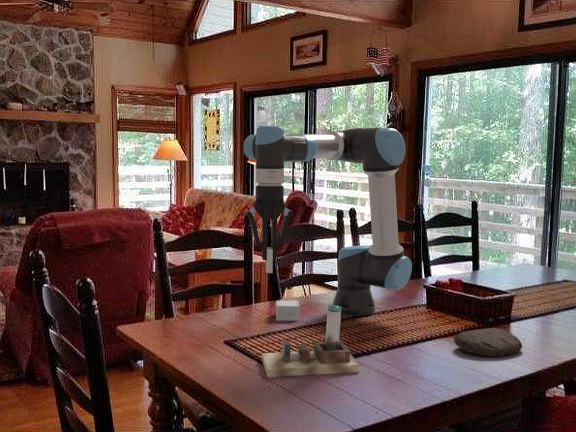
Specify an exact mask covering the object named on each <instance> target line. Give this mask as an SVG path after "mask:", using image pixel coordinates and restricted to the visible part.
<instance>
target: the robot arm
mask: <svg viewBox="0 0 576 432" xmlns="http://www.w3.org/2000/svg"><path fill="white" fill-rule="evenodd" d="M406 152H407V151H406V143H405V140H404V137H403V135H402V134H401V133H400V132H399V131H398V130H397V129H395V128H392V127H384V126H382V127H355V128H348V129H342V130H330V131H328V132H326V133H325V134H323V133H321V134H320V133H319V134H318V133H317V134H315V133H313V134H312V133H311V134H310V133H309V134H308V133H305V134H304V133H302V134H301V133H299V134H297V133H296V134H293V133H290V134H289V133H287V134H286V133H285V127H283V126H281V125H280V126H279V125H278V126H277V125H261V126H258V127H257V128H256V133H255V134H250V135H248V136H247V137H246V138H245V139H244V142H243V153H244V155H245V157H246V158H248V159H249V160H251V161H255V183H256V184H257V185H256V186H255V202H254V204H253V207H252V208H250V209H249V210H246V211H245V215H246V216H247V218H248V219H249V223H250V228H251V232H252V236H253V240H254V245H256V246H257V247H259V248H261V259H262V260H263V261H265V273H267V274H273V271H274V270H273V266H274V265H273V263H274V261H276V260H277V250H278V248H279V247H283V246H284V243H285V240H286V236H287V231H288V229H289V228H288V227H289V223H290V220H291V218H292V217H293V216H294V211H293V210H291V209H289V208H287V207H286V203H285V201H284V199H285V192H284V191H285V186H284V185H283V184H284V182H285V163H288V162H290V163H297V162H300V163H304V162H310V161H311V160H313V159H326V160H328V161H332V162H333V161H339V162H346V163H352V164H360V165H361V164H362V171H363V172H364V174H365V175H367V179H368V193H369V194H368V196H369V208H370V224H371V238H372V239H371V240H372V241H371V242H372V245H351V246H345V247H342V248H339V250H338V258H337V289H336V292H335V294H334V295H335V296H334V298H333V301H332V304H331V305H339V306H341V316H342V315H343V316H350V317H362V316H368V315H369V316H370V315H372V314H375V312H376V305H375V299H374V297H373V294H372V290H371V287H376V288H381V289H385V290H388V291H389V290H393V291H398V290H399V291H400V290H402V289H403V288H404V287H405V286H406V285H407V284H408V282H409V281H410V278H411V275H412V270H413V268H412V267H413V264H412V263H413V262H412V260H411V258H409V257H408V256H406V255H405V251H404V250H405V249H404V247H403V246H402V245H401V244H400V243H399V229H398V228H399V226H398V210H397V194H396V193H397V192H396V191H397V189H396V177H395V176H396V175H395V174H396V173H397V172H398V171H399V169H400V165H401V164H402V163H403V161H404V160H405V156H406ZM256 213H257V215H258V216H259V217H260V219H261V239H260V236H259V231H258V226H257V223H256V219H255V217H256ZM282 214H283V215H284V216H283V219H282V222H281V223H282V224H281V227H280V232H279V235H278V219H279V218H280V216H281V215H282ZM269 220H270V223H271V224H270V225H271V226H270V228H271V229H270V236H271V238H270V239H271V240H270V241H271V242H270V246H271V247H268V229H269V228H268V226H269ZM278 236H279V237H278Z"/></svg>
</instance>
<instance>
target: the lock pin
mask: <svg viewBox="0 0 576 432" xmlns="http://www.w3.org/2000/svg"><path fill="white" fill-rule="evenodd" d="M291 345H292V344H291V343H290V341H289V340H287V339H286V340H282V341H281V353H282V358H283V360H284V362H290V360H301V353H290V352H291ZM310 359H316V354H315V352H310Z"/></svg>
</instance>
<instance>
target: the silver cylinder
mask: <svg viewBox="0 0 576 432" xmlns="http://www.w3.org/2000/svg"><path fill="white" fill-rule="evenodd" d="M341 316H342V314H341V306H339V305H332V304H329V305H327V313H326V326H325V327H326V330H325V340H324V341H325V351H335V350H338V349H339V342H340V334H341V333H340V331H341V318H342V317H341Z"/></svg>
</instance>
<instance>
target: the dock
mask: <svg viewBox="0 0 576 432" xmlns="http://www.w3.org/2000/svg"><path fill="white" fill-rule="evenodd" d="M297 349H298V350H297V351H290V353H301V360H290V362H284V360H283V358H282V352H267V353H266V352H264V353H263V352H262V353H261V363H262V362H263V363H262V366H263V365H264V366H263V368H264V371H265V373H266V376H267V378H277V377H280V378H283V377H296V376H312V375H313V376H314V375H331V374H348V373H351V374H352V373H360V364H359V362H358V361H357V360H356V358H355V357H354V356H353V355H352V354H351V350H350V349H349V348H348V347H347V345H346V344H345V343H344V342H343V341H339V349H338V350H335V351H325V342H313V350H310V348H309V346H308V345H307V343H305V342H304V343H298V348H297ZM310 352H315V354H316V359H310Z"/></svg>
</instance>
